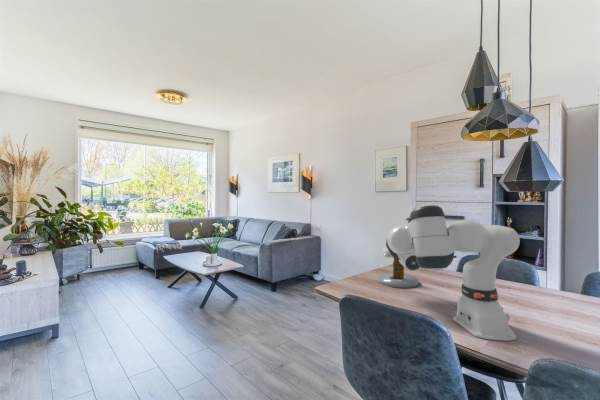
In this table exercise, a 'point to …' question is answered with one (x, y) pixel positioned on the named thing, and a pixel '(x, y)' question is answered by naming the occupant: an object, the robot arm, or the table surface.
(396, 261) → the yellow drink bottle
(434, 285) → the table surface
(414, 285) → the slate plate
